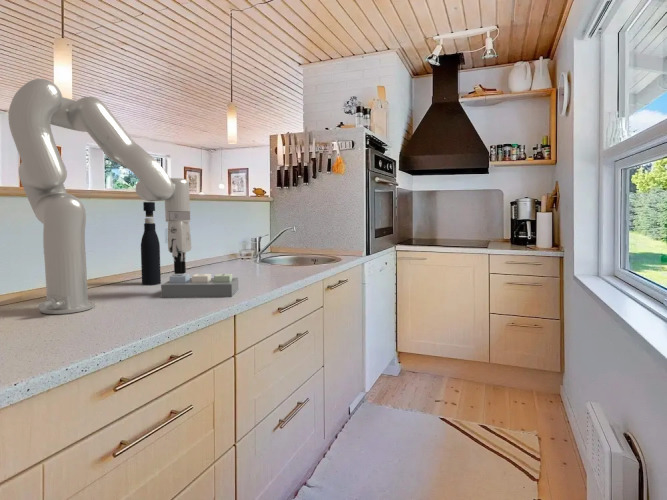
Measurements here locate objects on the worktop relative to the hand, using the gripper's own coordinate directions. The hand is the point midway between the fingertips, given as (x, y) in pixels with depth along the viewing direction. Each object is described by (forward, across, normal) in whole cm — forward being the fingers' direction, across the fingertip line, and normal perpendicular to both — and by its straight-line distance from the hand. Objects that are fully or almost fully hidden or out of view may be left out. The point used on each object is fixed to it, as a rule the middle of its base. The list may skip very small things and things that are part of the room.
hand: (180, 273), depth 138 cm
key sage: (+4, 0, -14) cm, 14 cm away
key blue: (+4, 0, 0) cm, 4 cm away
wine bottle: (+7, +19, +16) cm, 26 cm away
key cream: (+4, 0, -7) cm, 8 cm away
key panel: (+7, 0, -7) cm, 9 cm away
